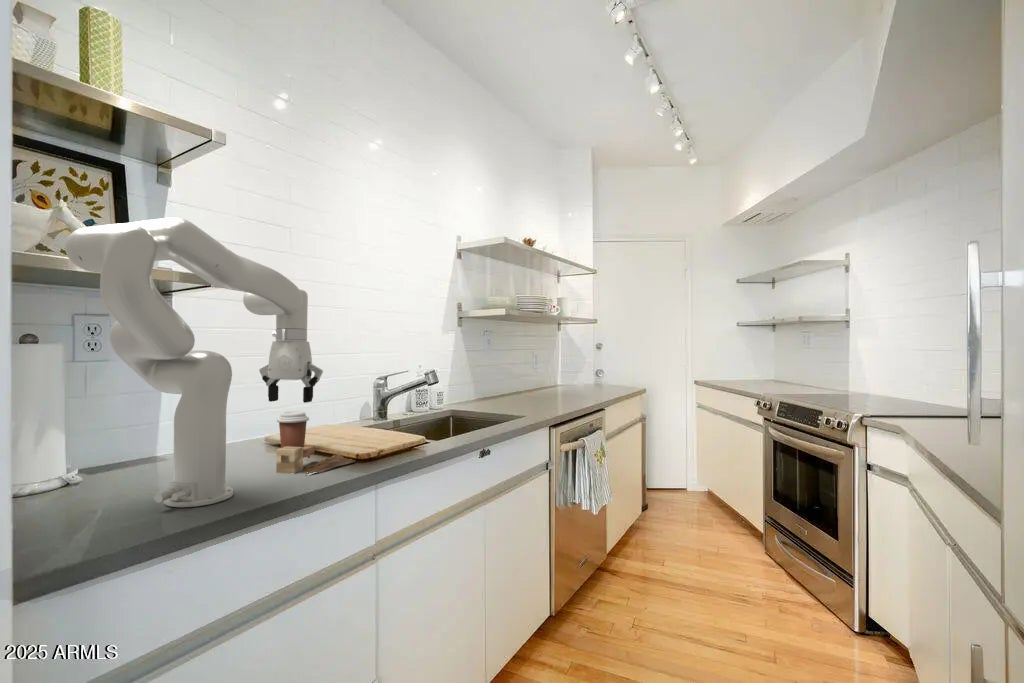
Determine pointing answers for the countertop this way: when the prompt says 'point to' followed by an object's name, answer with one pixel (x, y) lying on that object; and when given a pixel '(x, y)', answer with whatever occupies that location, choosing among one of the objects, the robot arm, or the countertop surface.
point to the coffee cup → (292, 428)
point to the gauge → (292, 458)
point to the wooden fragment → (327, 464)
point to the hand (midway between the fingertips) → (290, 401)
